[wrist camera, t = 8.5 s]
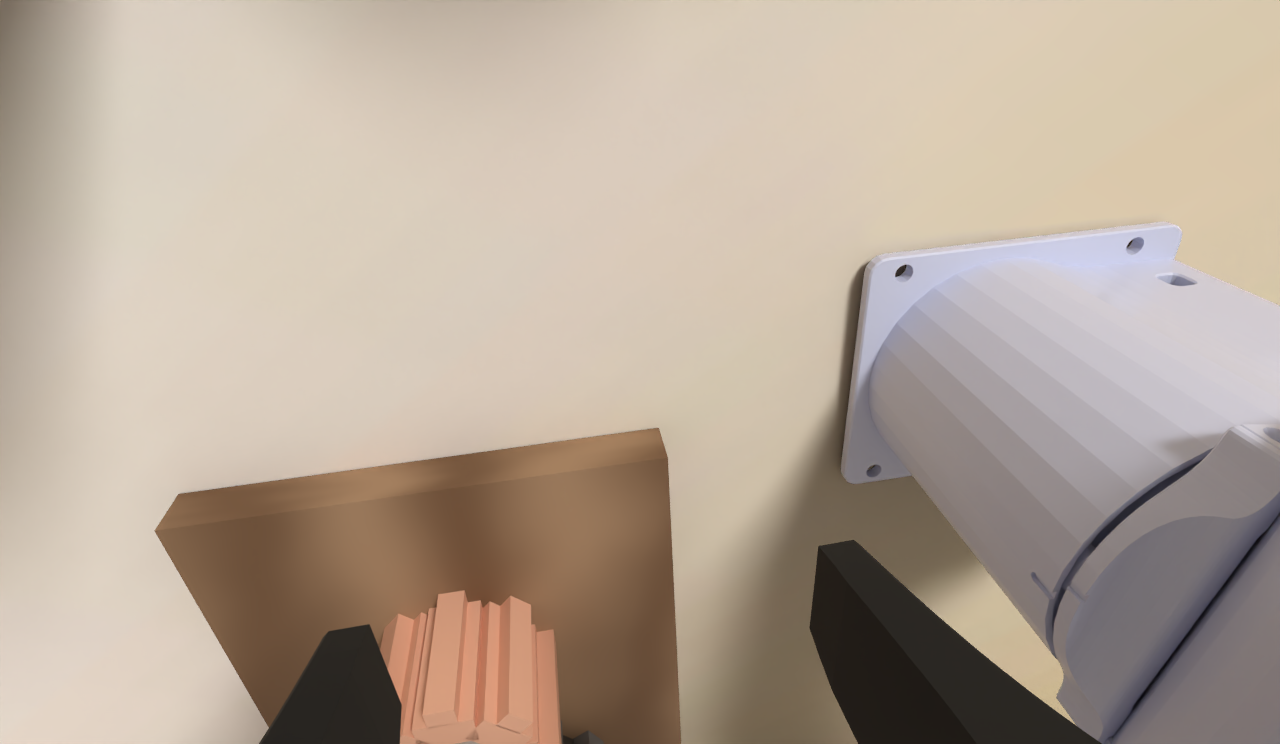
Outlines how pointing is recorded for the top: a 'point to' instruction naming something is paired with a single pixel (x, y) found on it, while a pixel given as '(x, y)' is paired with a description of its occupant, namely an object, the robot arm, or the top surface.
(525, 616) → the terracotta gear
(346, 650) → the robot arm
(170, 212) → the top surface
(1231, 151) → the top surface
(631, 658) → the board
